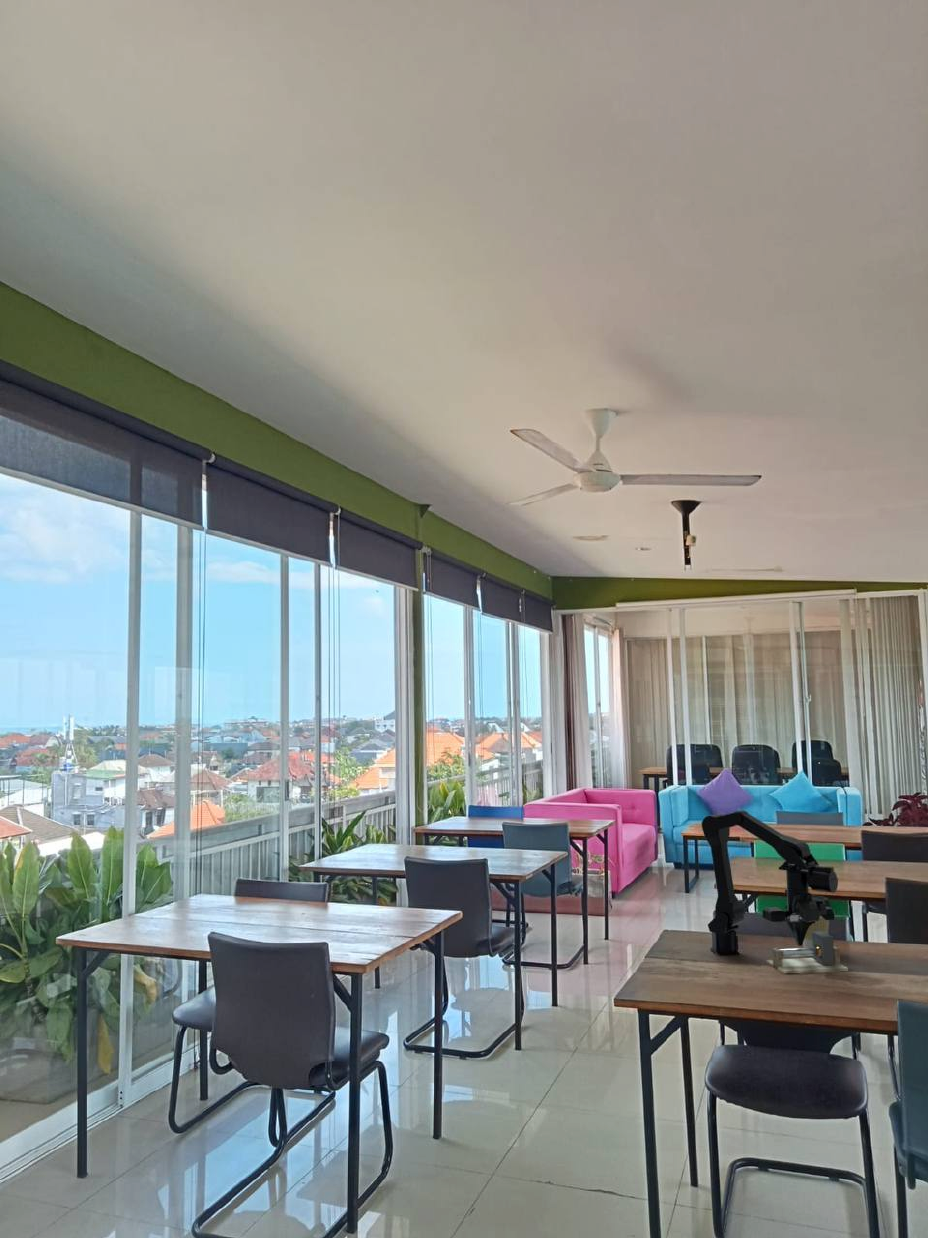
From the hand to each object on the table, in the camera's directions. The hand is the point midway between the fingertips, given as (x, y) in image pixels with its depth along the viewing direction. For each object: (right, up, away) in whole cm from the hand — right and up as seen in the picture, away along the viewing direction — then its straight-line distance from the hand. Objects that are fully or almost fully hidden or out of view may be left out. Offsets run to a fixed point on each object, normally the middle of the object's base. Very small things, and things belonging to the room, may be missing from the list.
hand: (799, 945), depth 253 cm
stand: (+2, -6, -1) cm, 6 cm away
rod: (+2, -3, 0) cm, 3 cm away
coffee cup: (+11, -8, +17) cm, 21 cm away
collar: (+7, -5, 0) cm, 8 cm away
